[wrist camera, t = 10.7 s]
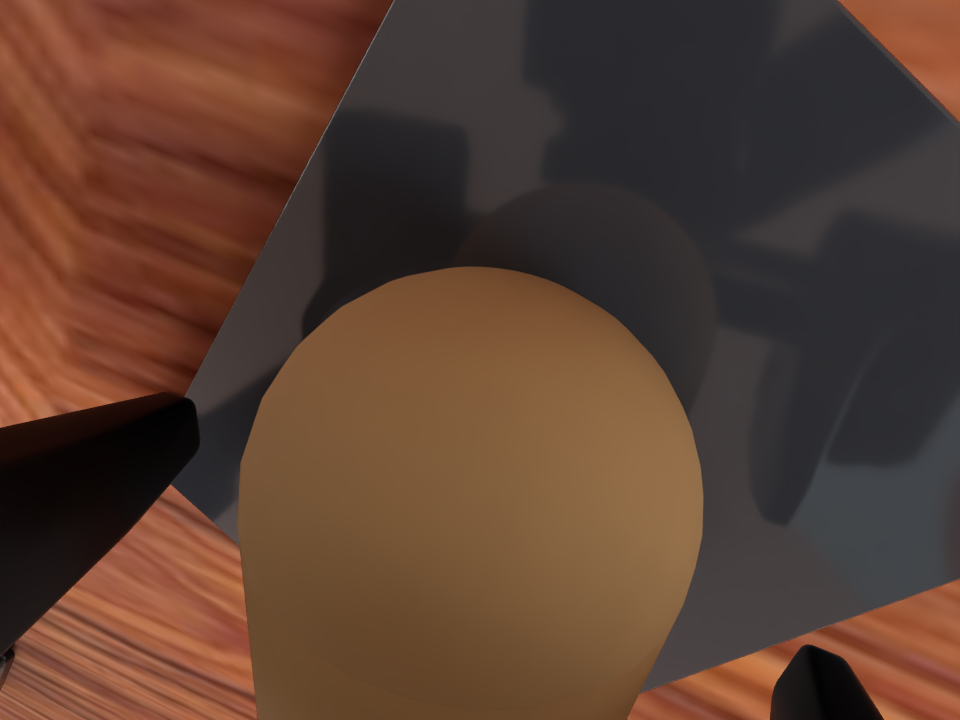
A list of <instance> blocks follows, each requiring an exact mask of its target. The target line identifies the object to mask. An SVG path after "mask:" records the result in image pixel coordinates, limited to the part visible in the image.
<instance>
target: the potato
mask: <svg viewBox="0 0 960 720" xmlns="http://www.w3.org/2000/svg"><path fill="white" fill-rule="evenodd" d="M237 526H238V537H239V545H240V555H241V565H242V574H243V584H244V593H245V603H246V612H247V622H248V631H249V641H250V650H251V660H252V670H253V679H254V689H255V698H256V708H257V719H258V720H626V719H627V717H628V715H629V713H630V711H631V709H632V707H633V705H634V703H635V701H636V699H637V697H638V695H639V693H640V691H641V689H642V687H643V685H644V683H645V681H646V679H647V677H648V675H649V673H650V671H651V669H652V667H653V665H654V663H655V661H656V659H657V657H658V655H659V653H660V651H661V649H662V647H663V645H664V643H665V641H666V639H667V637H668V635H669V633H670V631H671V629H672V627H673V625H674V623H675V621H676V619H677V617H678V615H679V613H680V611H681V608H682V606H683V604H684V602H685V598H686V595H687V592H688V589H689V586H690V583H691V580H692V577H693V573H694V570H695V567H696V562H697V557H698V553H699V548H700V543H701V539H702V528H703V486H702V475H701V466H700V462H699V458H698V454H697V449H696V445H695V441H694V437H693V432H692V429H691V426H690V424H689V421H688V419H687V416H686V414H685V411H684V409H683V406H682V404H681V402H680V401H679V399H678V397H677V395H676V393H675V391H674V389H673V387H672V385H671V384H670V382H669V380H668V378H667V376H666V374H665V373H664V371H663V370H662V368H661V367H660V366H659V364H658V363H657V361H656V360H655V359H654V357H653V356H652V355H651V354H650V353H649V352H648V351H647V349H646V348H645V347H644V346H643V345H642V344H641V343H640V342H639V341H638V340H637V339H636V338H635V336H634V335H633V334H632V333H631V332H630V331H629V330H628V329H627V328H626V327H625V326H624V325H623V324H622V323H621V322H620V321H618V320H617V319H616V318H615V317H614V316H612V315H611V314H609V313H608V312H606V311H605V310H604V309H602V308H601V307H599V306H597V305H596V304H594V303H592V302H591V301H589V300H587V299H586V298H584V297H582V296H580V295H579V294H577V293H575V292H573V291H571V290H570V289H568V288H566V287H564V286H562V285H559V284H557V283H555V282H552V281H550V280H547V279H544V278H541V277H537V276H534V275H531V274H527V273H522V272H518V271H513V270H507V269H501V268H491V267H454V268H446V269H441V270H436V271H431V272H425V273H420V274H415V275H410V276H406V277H402V278H399V279H396V280H393V281H390V282H388V283H386V284H384V285H382V286H380V287H378V288H376V289H374V290H372V291H371V292H369V293H367V294H365V295H363V296H361V297H359V298H357V299H355V300H353V301H352V302H350V303H348V304H346V305H344V306H342V307H341V308H339V309H338V310H337V311H336V312H335V313H333V314H332V315H331V316H330V317H329V318H327V319H326V320H325V321H324V322H323V323H322V324H321V325H320V326H318V327H317V328H316V329H315V330H314V331H313V332H312V333H311V334H310V335H309V336H308V337H306V338H305V339H304V340H303V341H302V342H301V343H300V344H299V345H298V346H297V347H296V348H295V350H294V351H293V353H292V354H291V355H290V357H289V358H288V360H287V361H286V362H285V364H284V365H283V367H282V368H281V370H280V371H279V373H278V375H277V376H276V378H275V379H274V381H273V382H272V384H271V385H270V387H269V388H268V390H267V391H266V393H265V395H264V396H263V398H262V400H261V403H260V406H259V409H258V412H257V415H256V418H255V421H254V424H253V427H252V430H251V433H250V436H249V439H248V442H247V445H246V448H245V451H244V454H243V457H242V460H241V463H240V485H239V504H238V517H237Z"/></svg>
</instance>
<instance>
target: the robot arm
mask: <svg viewBox="0 0 960 720" xmlns="http://www.w3.org/2000/svg"><path fill="white" fill-rule="evenodd" d="M199 446H200V433H199V425H198V418H197V411H196V406H195V404H194V402H193V401H192V400H191V399H189V398H186V397H184V396H181V395H179V394H176V393H174V392H162V393H158V394H153V395H148V396H144V397H139V398H135V399H130V400H126V401H121V402H116V403H112V404H107V405H103V406H98V407H93V408H89V409H84V410H80V411H75V412H71V413H66V414H61V415H57V416H52V417H48V418H43V419H39V420H34V421H29V422H25V423H20V424H16V425H11V426H7V427H2V428H0V690H1V688H2V686H3V684H4V681H5V679H6V676H7V674H8V672H9V669H10V667H11V665H12V662H13V660H14V658H15V654H14V652H13V650H12V649H11V648H10V647H11V646H12V645H13V644H14V643H15V642H16V641H17V640H18V639H19V638H20V637H21V636H22V635H23V634H24V633H25V632H26V631H27V630H28V629H29V628H30V627H32V626H33V625H34V624H35V623H36V622H37V621H38V620H39V619H40V618H41V617H42V616H43V615H44V614H45V613H46V612H47V611H48V610H49V609H50V608H51V607H52V606H53V605H54V604H55V603H56V602H57V601H58V600H59V599H60V598H61V597H62V596H63V595H64V594H65V593H67V592H68V591H69V590H70V589H71V588H72V587H73V586H74V585H75V584H76V583H77V582H78V581H79V580H80V579H81V578H82V577H83V576H84V575H85V574H86V573H87V572H88V571H89V570H90V569H91V568H92V567H93V566H94V565H95V564H96V563H97V562H98V561H99V560H101V559H102V558H103V557H104V556H105V555H106V554H107V553H108V552H109V551H110V550H111V549H112V548H113V547H114V546H115V545H116V544H117V543H118V542H119V541H120V540H121V539H122V538H123V537H124V536H125V535H126V534H127V533H128V532H129V531H130V530H131V529H132V527H133V526H134V525H135V524H136V523H137V522H138V521H139V520H140V519H141V517H142V516H143V515H144V514H145V513H146V512H147V510H148V509H149V508H150V507H151V506H152V505H153V503H154V502H155V501H156V500H157V499H158V498H159V496H160V495H161V494H162V493H163V492H164V491H165V490H166V488H167V487H168V486H169V485H170V484H171V483H172V481H173V480H174V479H175V478H176V477H177V476H178V474H179V473H180V472H181V471H182V470H183V469H184V467H185V466H186V465H187V464H188V463H189V462H190V460H191V459H192V458H193V457H194V456H195V454H196V453H197V451H198V449H199ZM770 720H884V719H883V717H882V715H881V714H880V712H879V711H878V709H877V708H876V706H875V704H874V703H873V701H872V700H871V698H870V697H869V695H868V694H867V692H866V690H865V689H864V687H863V686H862V684H861V683H860V681H859V679H858V678H857V676H856V675H855V673H854V672H853V670H852V668H851V667H850V666H849V664H848V663H847V662H846V661H845V660H844V659H843V658H842V657H840V656H838V655H836V654H833V653H831V652H828V651H826V650H823V649H821V648H818V647H816V646H813V645H804V646H803V647H801V648H800V649H799V651H798V652H797V653H796V655H795V656H794V658H793V659H792V661H791V662H790V663H789V665H788V666H787V668H786V669H785V671H784V672H783V673H782V675H781V676H780V678H779V679H778V681H777V682H776V685H775V687H774V691H773V695H772V700H771V712H770Z"/></svg>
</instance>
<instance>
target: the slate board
mask: <svg viewBox="0 0 960 720" xmlns="http://www.w3.org/2000/svg"><path fill="white" fill-rule="evenodd" d="M454 267H491V268H501V269H507V270H513V271H518V272H522V273H527V274H531V275H534V276H537V277H541V278H544V279H547V280H550V281H552V282H555V283H557V284H559V285H562V286H564V287H566V288H568V289H570V290H571V291H573V292H575V293H577V294H579V295H580V296H582V297H584V298H586V299H587V300H589V301H591V302H592V303H594V304H596V305H597V306H599V307H601V308H602V309H604V310H605V311H606V312H608V313H609V314H611V315H612V316H614V317H615V318H616V319H617V320H618V321H620V322H621V323H622V324H623V325H624V326H625V327H626V328H627V329H628V330H629V331H630V332H631V333H632V334H633V335H634V336H635V338H636V339H637V340H638V341H639V342H640V343H641V344H642V345H643V346H644V347H645V348H646V349H647V351H648V352H649V353H650V354H651V355H652V356H653V357H654V359H655V360H656V361H657V363H658V364H659V366H660V367H661V368H662V370H663V371H664V373H665V374H666V376H667V378H668V380H669V382H670V384H671V385H672V387H673V389H674V391H675V393H676V395H677V397H678V399H679V401H680V402H681V404H682V406H683V409H684V411H685V414H686V416H687V419H688V421H689V424H690V426H691V429H692V432H693V437H694V441H695V445H696V449H697V454H698V458H699V462H700V466H701V475H702V486H703V528H702V539H701V543H700V548H699V553H698V557H697V562H696V567H695V570H694V573H693V577H692V580H691V583H690V586H689V589H688V592H687V595H686V598H685V602H684V604H683V606H682V608H681V611H680V613H679V615H678V617H677V619H676V621H675V623H674V625H673V627H672V629H671V631H670V633H669V635H668V637H667V639H666V641H665V643H664V645H663V647H662V649H661V651H660V653H659V655H658V657H657V659H656V661H655V663H654V665H653V667H652V669H651V671H650V673H649V675H648V677H647V679H646V681H645V683H644V685H643V687H642V689H641V691H640V693H643V692H646V691H649V690H651V689H654V688H657V687H660V686H663V685H665V684H668V683H671V682H674V681H677V680H679V679H682V678H685V677H688V676H691V675H693V674H696V673H699V672H702V671H705V670H707V669H710V668H713V667H716V666H719V665H721V664H724V663H727V662H730V661H732V660H735V659H738V658H741V657H744V656H746V655H749V654H752V653H755V652H758V651H760V650H763V649H766V648H769V647H772V646H774V645H777V644H780V643H783V642H786V641H788V640H791V639H794V638H797V637H800V636H802V635H805V634H808V633H811V632H814V631H816V630H819V629H822V628H825V627H828V626H830V625H833V624H836V623H839V622H842V621H844V620H847V619H850V618H853V617H855V616H858V615H861V614H864V613H867V612H869V611H872V610H875V609H878V608H881V607H883V606H886V605H889V604H892V603H895V602H897V601H900V600H903V599H906V598H909V597H911V596H914V595H917V594H920V593H923V592H925V591H928V590H931V589H934V588H937V587H939V586H942V585H945V584H948V583H951V582H953V581H956V580H959V579H960V121H959V120H958V119H957V118H956V117H955V116H954V115H953V114H952V113H951V112H950V111H949V110H948V109H947V108H946V107H945V106H944V105H943V104H942V103H941V102H940V101H939V100H938V99H937V98H936V97H935V96H934V95H933V94H932V93H931V92H930V91H929V90H928V89H927V88H926V87H925V86H924V85H923V84H922V83H921V82H920V81H919V80H918V79H917V78H916V77H915V76H914V75H913V74H912V73H911V72H910V71H909V70H908V69H907V68H906V67H905V66H904V65H903V64H902V63H901V62H900V61H899V60H898V59H897V58H896V57H895V56H894V55H893V54H892V53H890V52H889V51H888V50H887V49H886V48H885V47H884V46H883V45H882V44H881V43H880V42H879V41H878V40H877V39H876V38H875V37H874V36H873V35H872V34H871V33H870V32H869V31H868V30H867V29H866V28H865V27H864V26H863V25H862V24H861V23H860V22H859V21H858V20H857V19H856V18H855V17H854V16H853V15H852V14H851V13H850V12H849V11H848V10H847V9H846V8H845V7H844V6H843V5H842V4H841V3H840V2H839V1H838V0H393V2H392V4H391V6H390V8H389V9H388V11H387V13H386V15H385V17H384V19H383V21H382V23H381V25H380V27H379V28H378V30H377V32H376V34H375V36H374V38H373V40H372V42H371V44H370V45H369V47H368V49H367V51H366V53H365V55H364V57H363V59H362V61H361V63H360V64H359V66H358V68H357V70H356V72H355V74H354V76H353V78H352V80H351V81H350V83H349V85H348V87H347V89H346V91H345V93H344V95H343V97H342V99H341V100H340V102H339V104H338V106H337V108H336V110H335V112H334V114H333V116H332V117H331V119H330V121H329V123H328V125H327V127H326V129H325V131H324V133H323V135H322V136H321V138H320V140H319V142H318V144H317V146H316V148H315V150H314V152H313V153H312V155H311V157H310V159H309V161H308V163H307V165H306V167H305V169H304V171H303V172H302V174H301V176H300V178H299V180H298V182H297V184H296V186H295V188H294V189H293V191H292V193H291V195H290V197H289V199H288V201H287V203H286V205H285V207H284V208H283V210H282V212H281V214H280V216H279V218H278V220H277V222H276V224H275V225H274V227H273V229H272V231H271V233H270V235H269V237H268V239H267V241H266V243H265V244H264V246H263V248H262V250H261V252H260V254H259V256H258V258H257V260H256V262H255V263H254V265H253V267H252V269H251V271H250V273H249V275H248V277H247V279H246V280H245V282H244V284H243V286H242V288H241V290H240V292H239V294H238V296H237V298H236V299H235V301H234V303H233V305H232V307H231V309H230V311H229V313H228V315H227V316H226V318H225V320H224V322H223V324H222V326H221V328H220V330H219V332H218V334H217V335H216V337H215V339H214V341H213V343H212V345H211V347H210V349H209V351H208V352H207V354H206V356H205V358H204V360H203V362H202V364H201V366H200V368H199V370H198V371H197V373H196V375H195V377H194V379H193V381H192V383H191V385H190V387H189V388H188V390H187V392H186V394H185V396H184V397H186V398H189V399H191V400H192V401H193V402H194V404H195V406H196V411H197V418H198V425H199V433H200V446H199V449H198V451H197V453H196V454H195V456H194V457H193V458H192V459H191V460H190V462H189V463H188V464H187V465H186V466H185V467H184V469H183V470H182V471H181V472H180V473H179V474H178V476H177V477H176V478H175V479H174V480H173V481H172V483H171V485H172V486H173V487H175V488H176V489H177V490H178V491H179V492H180V493H181V494H182V495H183V496H185V497H186V498H187V499H188V500H189V501H190V502H191V503H192V504H193V505H194V506H196V507H197V508H198V509H199V510H200V511H201V512H202V513H203V514H204V515H206V516H207V517H208V518H209V519H210V520H211V521H212V522H213V523H214V524H216V525H217V526H218V527H219V528H220V529H221V530H222V531H223V532H224V533H226V534H227V535H228V536H229V537H230V538H231V539H232V540H233V541H234V542H235V543H237V544H238V545H239V537H238V526H237V517H238V504H239V485H240V463H241V460H242V457H243V454H244V451H245V448H246V445H247V442H248V439H249V436H250V433H251V430H252V427H253V424H254V421H255V418H256V415H257V412H258V409H259V406H260V403H261V400H262V398H263V396H264V395H265V393H266V391H267V390H268V388H269V387H270V385H271V384H272V382H273V381H274V379H275V378H276V376H277V375H278V373H279V371H280V370H281V368H282V367H283V365H284V364H285V362H286V361H287V360H288V358H289V357H290V355H291V354H292V353H293V351H294V350H295V348H296V347H297V346H298V345H299V344H300V343H301V342H302V341H303V340H304V339H305V338H306V337H308V336H309V335H310V334H311V333H312V332H313V331H314V330H315V329H316V328H317V327H318V326H320V325H321V324H322V323H323V322H324V321H325V320H326V319H327V318H329V317H330V316H331V315H332V314H333V313H335V312H336V311H337V310H338V309H339V308H341V307H342V306H344V305H346V304H348V303H350V302H352V301H353V300H355V299H357V298H359V297H361V296H363V295H365V294H367V293H369V292H371V291H372V290H374V289H376V288H378V287H380V286H382V285H384V284H386V283H388V282H390V281H393V280H396V279H399V278H402V277H406V276H410V275H415V274H420V273H425V272H431V271H436V270H441V269H446V268H454ZM239 546H240V545H239ZM640 693H639V694H640Z"/></svg>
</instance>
